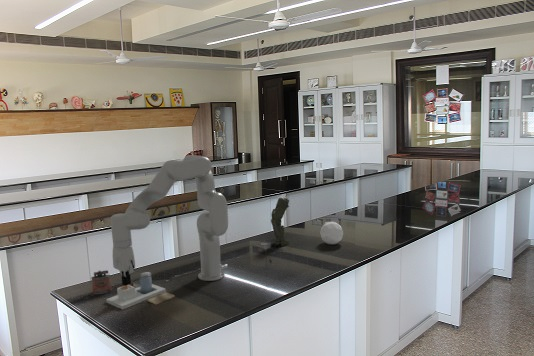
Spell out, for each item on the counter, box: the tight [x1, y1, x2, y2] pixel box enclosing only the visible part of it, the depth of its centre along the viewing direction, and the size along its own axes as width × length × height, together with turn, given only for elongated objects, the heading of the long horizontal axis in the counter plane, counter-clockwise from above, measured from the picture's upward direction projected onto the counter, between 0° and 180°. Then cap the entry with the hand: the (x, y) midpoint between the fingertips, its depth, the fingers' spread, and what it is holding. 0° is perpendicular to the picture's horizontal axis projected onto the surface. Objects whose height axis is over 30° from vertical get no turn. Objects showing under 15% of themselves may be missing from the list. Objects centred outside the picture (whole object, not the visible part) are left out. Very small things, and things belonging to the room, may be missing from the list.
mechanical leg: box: [270, 197, 290, 248], centre depth 264 cm, size 13×7×29 cm, turn 130°
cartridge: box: [138, 271, 153, 295], centre depth 200 cm, size 5×5×9 cm
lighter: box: [90, 269, 113, 295], centre depth 202 cm, size 8×3×10 cm, turn 106°
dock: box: [106, 283, 167, 310], centre depth 196 cm, size 22×12×6 cm, turn 140°
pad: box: [146, 291, 176, 306], centre depth 193 cm, size 10×6×1 cm, turn 140°
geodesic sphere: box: [319, 220, 344, 245], centre depth 264 cm, size 14×14×14 cm
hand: (126, 284), depth 192 cm, fingers closed
